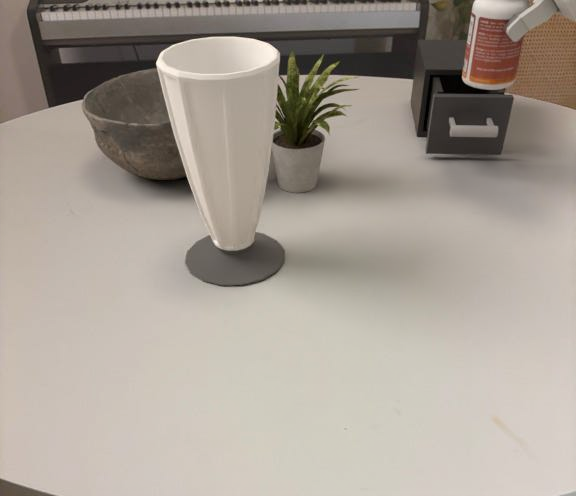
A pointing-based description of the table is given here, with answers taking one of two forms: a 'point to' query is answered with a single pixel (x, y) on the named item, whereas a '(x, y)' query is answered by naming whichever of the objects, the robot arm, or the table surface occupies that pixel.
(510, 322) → the table surface
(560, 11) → the robot arm
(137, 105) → the bowl
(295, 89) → the house plant
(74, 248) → the table surface
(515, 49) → the pill bottle
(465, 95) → the drawer
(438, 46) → the cabinet
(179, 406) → the table surface
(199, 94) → the cup
